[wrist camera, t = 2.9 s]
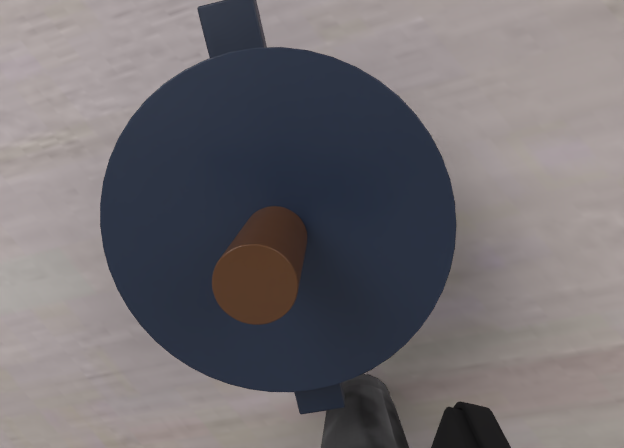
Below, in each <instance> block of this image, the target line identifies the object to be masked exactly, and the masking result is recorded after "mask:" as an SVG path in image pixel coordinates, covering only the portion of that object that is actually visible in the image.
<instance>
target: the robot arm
mask: <svg viewBox="0 0 624 448" xmlns="http://www.w3.org/2000/svg"><path fill="white" fill-rule="evenodd" d="M431 448H511V447H510V445H509V443H508V441H507V439H506V437H505V436H504V434H503V432H502V430H501V428H500V426H499V424H498V422H497V420H496V419H495V417H494V415H493V413H492V411H491V410H490V409H489V408H487V407H483V406H478V405H474V404H469V403H465V402H457V403H456V405H455V406H454V408H451V407H448V408H446V409H445V411H444V413H443V416H442V419H441V422H440V425H439V427H438V430H437V433H436V436H435V438H434V441H433V444H432V447H431Z"/></svg>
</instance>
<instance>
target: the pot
mask: <svg viewBox="0 0 624 448" xmlns="http://www.w3.org/2000/svg"><path fill="white" fill-rule="evenodd" d="M198 13H199V17H200V21H201V25H202V29H203V33H204V37H205V41H206V45H207V49H208V53H209V57H210V58H213V57H216V56H219V55H222V54H226V53H229V52H233V51H239V50H245V49H252V48H267V46H266V42H265V37H264V33H263V28H262V24H261V19H260V15H259V10H258V6H257V1H256V0H223V1H219V2H215V3H211V4H207V5H203V6H199V7H198ZM295 396H296V400H297V404H298V408H299V412H300V414H306V413H313V412H319V411H326V410H332V409H339V408H344V407H345V395H344V391H343V387H342V383H339V384H336V385H333V386H329V387H324V388H319V389H315V390H308V391H298V392H295Z"/></svg>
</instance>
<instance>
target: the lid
mask: <svg viewBox="0 0 624 448" xmlns="http://www.w3.org/2000/svg"><path fill="white" fill-rule="evenodd" d="M100 227H101V234H102V241H103V248H104V252H105V256H106V259H107V263H108V267H109V270H110V272H111V275H112V277H113V280H114V282H115V284H116V287H117V289H118V291H119V293H120V295H121V296H122V298H123V300H124V302H125V303H126V305H127V307H128V309H129V310H130V311H131V313H132V314H133V315H134V317H135V318H136V319H137V321H138V322H139V324H140V325H141V326H142V327H143V328H144V329H145V330H146V331H147V333H148V334H149V335H150V336H151V337H152V338H153V339H154V340H155V341H156V342H157V343H158V344H160V345H161V346H162V347H163V348H164V349H166V350H167V351H168V352H169V353H170V354H171V355H173V356H174V357H176V358H177V359H179V360H180V361H182V362H183V363H185V364H186V365H188V366H189V367H191V368H193V369H195V370H197V371H199V372H201V373H203V374H205V375H207V376H209V377H212V378H214V379H217V380H220V381H222V382H225V383H228V384H231V385H235V386H239V387H243V388H247V389H253V390H260V391H268V392H298V391H308V390H315V389H319V388H324V387H329V386H333V385H336V384H339V383H342V382H345V381H347V380H350V379H353V378H355V377H357V376H359V375H361V374H363V373H365V372H367V371H369V370H371V369H373V368H375V367H376V366H378V365H379V364H381V363H382V362H384V361H385V360H387V359H388V358H390V357H391V356H392V355H393V354H395V353H396V352H397V351H398V350H399V349H400V348H402V347H403V346H404V345H405V344H406V343H407V342H408V341H409V340H410V339H411V338H412V337H413V336H414V334H415V333H416V332H417V331H418V330H419V329H420V328H421V326H422V325H423V323H424V322H425V321H426V319H427V318H428V316H429V315H430V313H431V312H432V311H433V309H434V307H435V305H436V303H437V301H438V299H439V297H440V295H441V293H442V291H443V289H444V286H445V283H446V280H447V278H448V275H449V272H450V268H451V264H452V259H453V254H454V249H455V238H456V212H455V201H454V196H453V191H452V186H451V182H450V178H449V175H448V172H447V169H446V167H445V164H444V161H443V158H442V156H441V154H440V152H439V150H438V148H437V146H436V144H435V142H434V141H433V139H432V137H431V135H430V133H429V132H428V131H427V129H426V128H425V126H424V125H423V124H422V122H421V121H420V119H419V118H418V117H417V115H416V114H415V113H414V112H413V111H412V110H411V109H410V108H409V107H408V106H407V104H406V103H405V102H404V101H403V100H402V99H401V98H400V97H399V96H398V95H397V94H395V93H394V92H393V91H392V90H390V89H389V88H388V87H386V86H385V85H384V84H383V83H381V82H380V81H379V80H377V79H376V78H374V77H372V76H371V75H369V74H367V73H366V72H364V71H362V70H361V69H359V68H357V67H355V66H353V65H350V64H348V63H346V62H343V61H341V60H338V59H336V58H334V57H331V56H327V55H323V54H319V53H315V52H312V51H308V50H300V49H292V48H284V47H270V48H252V49H245V50H239V51H233V52H229V53H226V54H222V55H219V56H216V57H213V58H210V59H207V60H204V61H202V62H200V63H198V64H196V65H194V66H192V67H190V68H188V69H186V70H184V71H182V72H181V73H179V74H178V75H176V76H175V77H173V78H172V79H170V80H169V81H167V82H166V83H164V84H163V85H162V86H161V87H160V88H159V89H158V90H156V91H155V92H154V93H153V94H152V95H151V96H150V97H149V98H148V99H146V101H145V102H144V103H143V104H142V105H141V107H140V108H139V109H138V110H137V111H136V113H135V114H134V115H133V116H132V117H131V119H130V120H129V122H128V124H127V125H126V127H125V128H124V130H123V132H122V133H121V135H120V137H119V138H118V141H117V143H116V145H115V148H114V150H113V152H112V154H111V157H110V159H109V163H108V166H107V170H106V173H105V177H104V181H103V188H102V195H101V203H100Z"/></svg>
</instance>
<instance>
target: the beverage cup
mask: <svg viewBox="0 0 624 448" xmlns="http://www.w3.org/2000/svg"><path fill="white" fill-rule="evenodd" d="M342 387H343V391H344V395H345V407H344V408H339V409H332V410H327V411H326V418H325V424H324V431H323V438H322V444H321V448H409V446H408V443H407V440H406V437H405V434H404V431H403V428H402V426H401V423H400V420H399V417H398V414H397V411H396V408H395V405H394V403H393V402H392V399H391V397H390V394H389V391H388V389H387V388H386V386H385V385H384V384H383V383H382V382H381V381H380V380H378V379H377V378H375V377H372V376H370V375H365V374H361V375H359V376H357V377H355V378H353V379H350V380H347V381H345V382H342Z"/></svg>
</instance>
